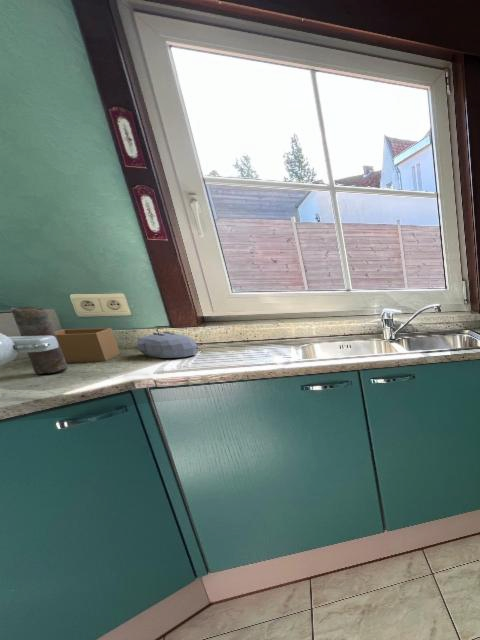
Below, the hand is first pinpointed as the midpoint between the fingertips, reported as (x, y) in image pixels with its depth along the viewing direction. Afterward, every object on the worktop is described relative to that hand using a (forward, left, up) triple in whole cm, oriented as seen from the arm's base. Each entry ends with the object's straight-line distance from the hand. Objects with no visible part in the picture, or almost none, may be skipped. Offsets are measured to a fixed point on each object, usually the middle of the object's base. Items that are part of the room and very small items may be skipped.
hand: (19, 340), depth 142 cm
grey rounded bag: (+25, +31, -12) cm, 42 cm away
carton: (+1, +33, -12) cm, 35 cm away
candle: (0, +10, -12) cm, 16 cm away
